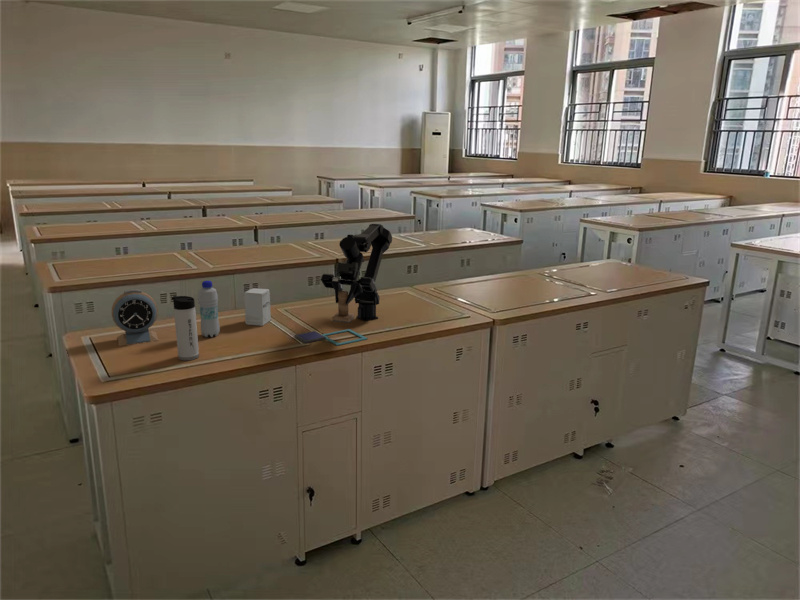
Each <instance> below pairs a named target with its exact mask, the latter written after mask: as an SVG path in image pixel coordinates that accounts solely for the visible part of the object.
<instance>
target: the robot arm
mask: <svg viewBox="0 0 800 600" xmlns="http://www.w3.org/2000/svg"><path fill="white" fill-rule="evenodd" d="M392 242H393V236H392V233H391V231H390V230H389V229H387V228H385V227H384V225H383V224H381V223H369V225H368V227H367V228H366V229H365V230H364V231H362V232H361V233H359V234H347V236H346V237H343V238H342V239H341V240H340V241H339V245H338V246H339V247H340V249H341V251H342V253H343V256H344V257H345V258H346V260H345V262H337V264H336V270H335V271H336V273H338V277H335V276H334V273H332V274H331V273H323V274H322V275H321V277H320V281H321V282H322V284H323V286H324V288H326V289H333V290H334V294H335V295H334V296H335V303H336V304H338V292H339V291H343V288H342V285H343V286H350V290H349V292H348V297H347V301H346V304H348V305H349V304H350V303H351V302H352V301H353V300H354V303H355V304H358V306H357V315H356V318H358V319H360V320H362V321H364V322H367V321H373V320H376V319H379V317H378V316H377V306H378V305H380V299H381V298H380V295H379V293H378V288H377V286H376V285H377V284H376V281H377V277H378V274H379V269H380V266H381V262H382V258H383V255H384V253H385V252H386V251H388V250H389V248H390V246H391V244H392ZM371 247H372V249H371ZM369 250H371V252H370V256H369V258H368V262H367V265H366V269H365V273H364V276H361V277H360V278H359V276H360V275H361V268H362V264H363V263H364V262H365V259H364V255H363V253H367V252H369ZM358 278H359V279H358Z"/></svg>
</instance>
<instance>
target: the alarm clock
mask: <svg viewBox="0 0 800 600" xmlns="http://www.w3.org/2000/svg"><path fill="white" fill-rule="evenodd" d="M158 310H159V309H158V306H157V303H156V301H155V299H154V298H153V297H152V296H150V295H149V294H148V293H146V292H143V291H142V289H140V288H139V289H136V288H132V289H127V290H124V291H123V293H122V294H119V296H118V297H117V298H116V299H115V300H114V301H113V303H112V306H111V318H112V321H113V322H114V324H115V325H116V326H117V327H118V328H119V329H120V330H123V331H124V332H125V333H122V334H120V335H118V336H117V342H118V347H122V346H128V345H129V346H131V345H138V344H137V343H139V344H144V343H143V342H146V343H152V342H151V341H154V342H159V338H158V335H157V332H156V331H153V330H149V329H150V328H151V327H152V326H154V323H155V322H156V320H157V319H158V316H159V314H158V312H159V311H158Z"/></svg>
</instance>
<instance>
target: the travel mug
mask: <svg viewBox="0 0 800 600" xmlns="http://www.w3.org/2000/svg"><path fill="white" fill-rule="evenodd" d="M171 300H172V302H173V312H174V315H173V316H174V324H175V338H176V347H177V358H178V359H179V360H180V361H183V362H184V361H185V362H186V361H187V362H188V361H193V360H196V359H198V358H199V356H200V352H199V351H200V349H199V340H198V338H199V337H198V328H197V315H196V313H197V312H196V303H195V298H194V297H192V296H187V295H178V296H177V295H173V296H172V297H171Z"/></svg>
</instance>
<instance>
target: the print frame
mask: <svg viewBox="0 0 800 600" xmlns="http://www.w3.org/2000/svg"><path fill="white" fill-rule="evenodd" d="M346 332H348V333H350V334H352V335H354V336H356V337H358V338H355V339H352V340H346V341H343V342H342V341H341V342H337V341H335V340H334V339H332V338H330V337H328V336H332V335H333V336H334V335H336V334H342V333H346ZM321 335H323V336H325V337H326V338H325V339H324V340H326V341H328V342H329V343H331V344H333V345H335V346H337V347H338V346H343V345H347V344H348V345H349V344H352V343H357V342H361V341H365V340H366V341H367V340H368V337H366V336H364V335H362V334H360V333H358V332H356V331H354V330H352V329H350V328H347V329H343V330H337V331H332V332H328V333H327V332H326V333H323V334H321Z"/></svg>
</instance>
